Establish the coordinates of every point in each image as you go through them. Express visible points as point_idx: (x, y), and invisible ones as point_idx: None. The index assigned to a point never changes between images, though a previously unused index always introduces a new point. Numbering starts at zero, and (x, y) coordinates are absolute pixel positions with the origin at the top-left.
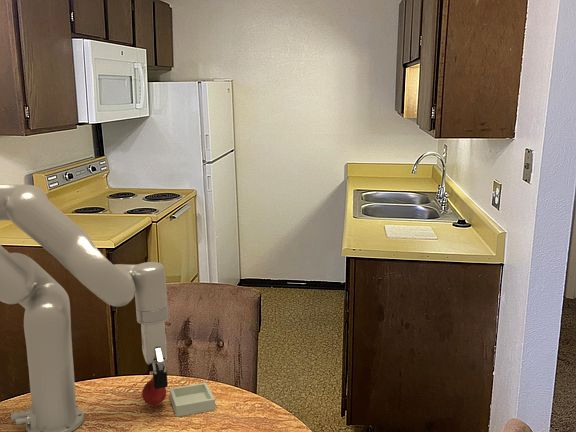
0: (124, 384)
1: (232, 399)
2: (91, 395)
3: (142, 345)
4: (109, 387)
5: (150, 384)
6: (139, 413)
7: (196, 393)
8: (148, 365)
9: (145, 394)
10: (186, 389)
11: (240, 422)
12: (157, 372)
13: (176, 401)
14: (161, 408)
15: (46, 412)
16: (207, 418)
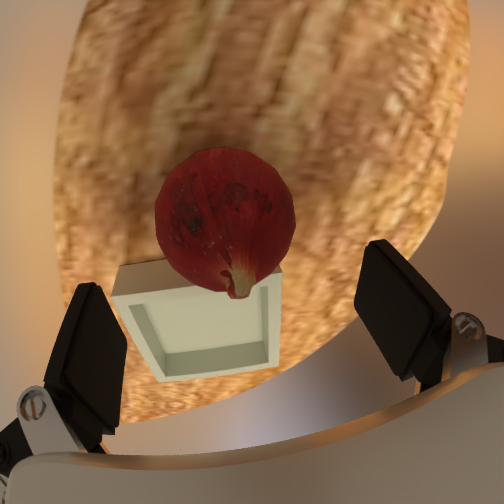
0: (440, 93)
1: (210, 379)
2: None
3: (501, 487)
4: (437, 40)
5: (197, 239)
6: (171, 119)
7: (260, 324)
8: (397, 267)
9: (176, 178)
10: (266, 317)
11: None
12: (18, 419)
13: (150, 298)
14: None
15: None
16: None
